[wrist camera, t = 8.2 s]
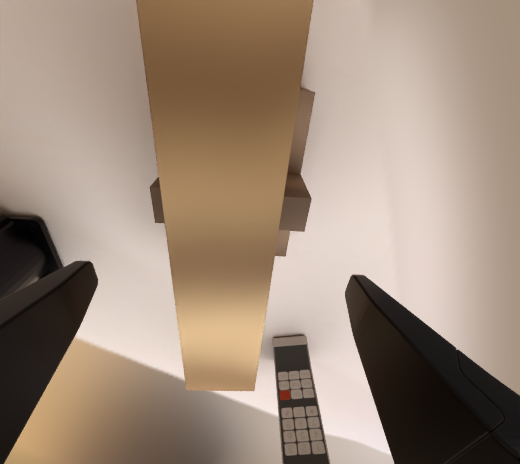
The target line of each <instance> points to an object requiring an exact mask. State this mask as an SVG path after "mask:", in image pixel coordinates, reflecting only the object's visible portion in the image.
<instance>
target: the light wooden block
mask: <svg viewBox="0 0 520 464" xmlns="http://www.w3.org/2000/svg"><path fill="white" fill-rule="evenodd" d="M136 3H137V11H138V18H139V26H140V34H141V42H142V49H143V57H144V65H145V73H146V80H147V88H148V96H149V104H150V111H151V119H152V127H153V135H154V142H155V150H156V158H157V166H158V173H159V181H160V189H161V197H162V204H163V212H164V220H165V228H166V235H167V243H168V251H169V259H170V266H171V274H172V282H173V290H174V297H175V305H176V313H177V321H178V328H179V336H180V344H181V352H182V360H183V367H184V375H185V383H186V390H209V391H254V389H255V382H256V376H257V369H258V363H259V356H260V349H261V343H262V336H263V330H264V323H265V316H266V310H267V303H268V297H269V290H270V283H271V277H272V270H273V264H274V257H275V250H276V244H277V237H278V231H279V224H280V218H281V211H282V204H283V198H284V191H285V185H286V178H287V171H288V165H289V158H290V152H291V145H292V138H293V132H294V125H295V119H296V112H297V105H298V99H299V92H300V86H301V79H302V73H303V66H304V59H305V53H306V46H307V40H308V33H309V26H310V20H311V13H312V7H313V0H136Z"/></svg>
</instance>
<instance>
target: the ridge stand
mask: <svg viewBox="0 0 520 464" xmlns="http://www.w3.org/2000/svg"><path fill="white" fill-rule="evenodd" d="M314 95H315V92H312V91H310V90H308V89H301V88H300V92H299V99H298V105H297V112H296V119H295V125H294V132H293V138H292V145H291V152H290V158H289V165H288V171H287V178H286V185H285V191H284V198H283V204H282V211H281V218H280V224H279V231H278V237H277V244H276V250H275V256H286V251H287V245H288V240H289V234H290V231H305V226H306V221H307V217H308V212H309V207H310V203H311V196H310V194H309V192H308V190H307V188H306V186H305V183H304V181H303V179H302V177H301V175H300V173H301V167H302V162H303V156H304V151H305V145H306V140H307V134H308V129H309V123H310V117H311V112H312V106H313V101H314ZM150 192H151V198H152V205H153V211H154V218H155V223H165V220H164V212H163V204H162V197H161V189H160V181H159V177H158V178H157V179H156V181H155V182H154V183H153V184H152V185H151V187H150Z"/></svg>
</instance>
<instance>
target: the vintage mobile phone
mask: <svg viewBox="0 0 520 464" xmlns="http://www.w3.org/2000/svg"><path fill="white" fill-rule="evenodd" d="M273 352H274V363H275V375H276V388H277V400H278V413H279V425H280V437H281V451H282V463H283V464H330V460H329V455H328V450H327V445H326V440H325V435H324V430H323V425H322V420H321V415H320V410H319V405H318V400H317V394H316V389H315V384H314V379H313V374H312V369H311V364H310V357H309V351H308V344H307V339H306V336H292V337H280V338H274V339H273Z"/></svg>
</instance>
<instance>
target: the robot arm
mask: <svg viewBox="0 0 520 464" xmlns="http://www.w3.org/2000/svg"><path fill="white" fill-rule="evenodd" d="M34 223H35V224H34ZM97 285H98V278H97V275H96V272H95V269H94V266H93V264H92V263H91V262H90V261H75V262H73V263H71V264H69V265H67V266H65V267H62V264H61V262H60V260H59V257H58V255H57V253H56V250H55V248H54V246H53V243H52V241H51V239H50V236H49V234H48V232H47V229H46V227H45V225H44V222H43V221H42V220H41V219H39V218H37V217H26V216H9V215H4V214H0V464H4V463H5V460H6V459H7V457H8V455H9V454H10V452H11V450H12V448H13V446H14V444H15V443H16V441H17V439H18V437H19V436H20V434H21V432H22V430H23V428H24V427H25V425H26V423H27V421H28V419H29V418H30V416H31V414H32V412H33V410H34V408H35V407H36V405H37V403H38V401H39V400H40V398H41V396H42V394H43V392H44V391H45V389H46V387H47V385H48V384H49V382H50V380H51V378H52V376H53V374H54V373H55V371H56V369H57V367H58V365H59V364H60V362H61V360H62V358H63V356H64V354H65V353H66V351H67V349H68V347H69V346H70V344H71V342H72V340H73V339H74V337H75V335H76V333H77V331H78V329H79V327H80V325H81V323H82V321H83V319H84V316H85V314H86V312H87V309H88V307H89V304H90V302H91V300H92V297H93V295H94V293H95V290H96V288H97ZM345 298H346V303H347V308H348V313H349V318H350V323H351V328H352V332H353V336H354V340H355V343H356V346H357V349H358V352H359V355H360V359H361V362H362V365H363V368H364V371H365V374H366V377H367V380H368V383H369V386H370V389H371V393H372V396H373V399H374V402H375V405H376V408H377V411H378V414H379V417H380V420H381V423H382V426H383V430H384V433H385V436H386V439H387V442H388V445H389V448H390V451H391V454H392V457H393V460H394V464H520V395H518V394H517V393H515V392H514V391H512V390H511V389H510V388H508V387H507V386H505V385H504V384H503V383H501V382H500V381H499V380H497V379H496V378H494V377H493V376H492V375H490V374H489V373H488V372H486V371H485V370H484V369H483V368H481V367H480V366H479V365H477V364H476V363H475V362H473V361H472V360H471V359H470V358H468V357H467V356H466V355H465V354H463V353H462V352H461V351H459V350H456V348H455V347H454V346H453V345H452V344H450V343H449V342H448V341H446V340H445V339H444V338H443V337H442V336H440V335H439V334H438V333H437V332H435V331H434V330H433V329H431V328H430V327H429V326H428V325H426V324H425V323H424V322H423V321H421V320H420V319H419V318H417V317H416V316H415V315H414V314H412V313H411V312H410V311H408V310H407V309H406V308H405V307H404V306H402V305H401V304H400V303H399V302H397V301H396V300H395V299H394V298H392V297H391V296H390V295H388V294H387V293H386V292H385V291H383V290H382V289H381V288H380V287H378V286H377V285H376V284H375V283H373V282H372V281H371V280H369V279H368V278H367V277H366V276H364V275H352V276H351V277H350V280H349V282H348V285H347V288H346V291H345Z"/></svg>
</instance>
